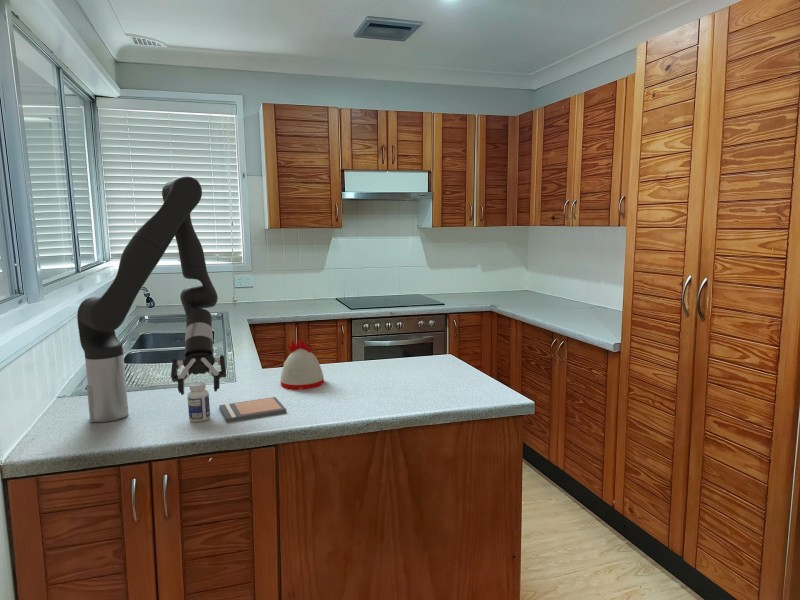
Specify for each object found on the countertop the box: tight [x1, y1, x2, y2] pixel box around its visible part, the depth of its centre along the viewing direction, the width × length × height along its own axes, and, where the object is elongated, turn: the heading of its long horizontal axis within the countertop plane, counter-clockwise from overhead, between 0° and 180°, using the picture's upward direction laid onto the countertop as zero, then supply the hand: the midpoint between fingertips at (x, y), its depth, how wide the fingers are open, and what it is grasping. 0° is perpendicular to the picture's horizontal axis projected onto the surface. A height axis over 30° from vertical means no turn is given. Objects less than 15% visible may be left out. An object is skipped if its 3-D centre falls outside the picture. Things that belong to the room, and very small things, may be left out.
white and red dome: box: [280, 338, 325, 391], centre depth 182 cm, size 14×14×15 cm
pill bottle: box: [187, 381, 211, 423], centre depth 150 cm, size 5×5×10 cm
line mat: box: [218, 396, 287, 423], centre depth 156 cm, size 16×13×1 cm
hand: (199, 391), depth 151 cm, fingers open, 8 cm apart
